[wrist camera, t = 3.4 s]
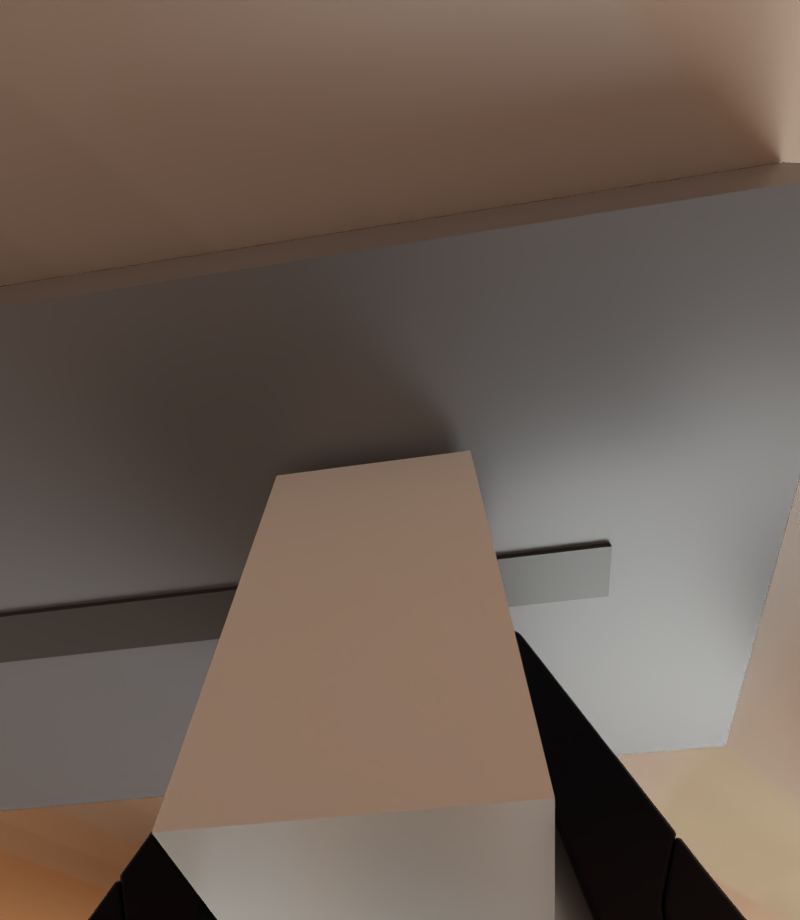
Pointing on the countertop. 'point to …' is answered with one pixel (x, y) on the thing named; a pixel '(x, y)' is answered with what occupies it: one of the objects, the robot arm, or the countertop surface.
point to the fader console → (405, 453)
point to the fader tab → (367, 715)
